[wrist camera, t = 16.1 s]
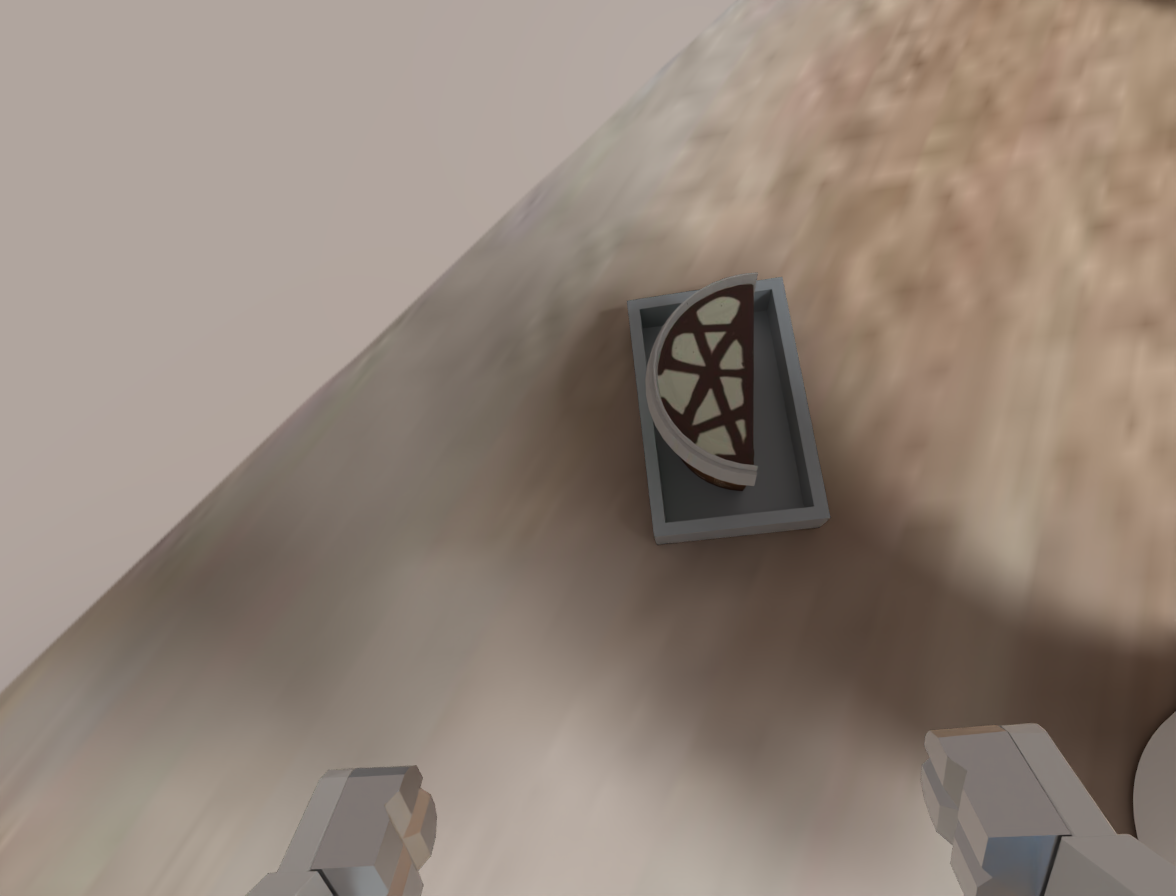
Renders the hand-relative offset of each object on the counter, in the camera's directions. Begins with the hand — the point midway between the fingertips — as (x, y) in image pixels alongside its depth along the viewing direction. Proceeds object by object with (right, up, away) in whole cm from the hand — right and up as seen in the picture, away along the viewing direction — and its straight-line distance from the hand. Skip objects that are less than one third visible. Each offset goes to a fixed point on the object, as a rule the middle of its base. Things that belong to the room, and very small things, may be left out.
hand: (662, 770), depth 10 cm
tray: (+8, +7, +34) cm, 36 cm away
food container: (+6, +7, +34) cm, 35 cm away
